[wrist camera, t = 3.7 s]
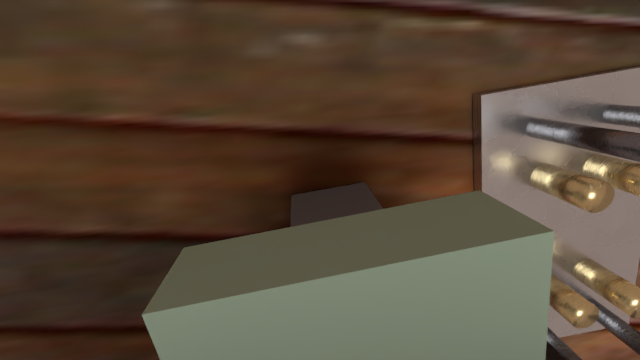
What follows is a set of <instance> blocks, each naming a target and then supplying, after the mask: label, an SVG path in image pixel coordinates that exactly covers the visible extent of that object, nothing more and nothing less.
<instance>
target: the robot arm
mask: <svg viewBox="0 0 640 360" xmlns="http://www.w3.org/2000/svg"><path fill="white" fill-rule="evenodd" d="M545 360H566V359H565V358H564V357H563V356H561V355H560V353H559V352H558V351H557V350H556V349H555V348H554V347H553V346H552V345H551V344H550V343H549V342H548V341H547V344H546V359H545Z"/></svg>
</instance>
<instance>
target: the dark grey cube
mask: <svg viewBox="0 0 640 360" xmlns="http://www.w3.org/2000/svg"><path fill="white" fill-rule="evenodd" d="M381 209H383V207H382V206H381V205H380V203H379V202H378V200H377V199H376V197H375V196H374V195H373V193H372V192H371V190H370V189H369V187H368V186H367V184H366V183H365V182H362V183H357V184H351V185H346V186H340V187H335V188H329V189H323V190H318V191H312V192H307V193H301V194H296V195H291V220H290V227H293V226H299V225H304V224H309V223H314V222H319V221H324V220H329V219H335V218H340V217H345V216H350V215H355V214H360V213H366V212H371V211H376V210H381Z"/></svg>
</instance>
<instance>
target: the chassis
mask: <svg viewBox="0 0 640 360" xmlns="http://www.w3.org/2000/svg"><path fill="white" fill-rule="evenodd" d="M473 160H474V191H479V190H480V191H482V192H484V193H486V194H488V195H489V196H491V197H493V198H495V199H497V200H498V201H500V202H502V203H504V204H506V205H508V206H509V207H511V208H513V209H515V210H517V211H519V212H520V213H522V214H524V215H526V216H528V217H530V218H531V219H533V220H535V221H537V222H539V223H541V224H542V225H544V226H546V227H548V228H550V229H552V230H553V231H554V242H553V257H552V271H551V286H550V301H549V315H548V330H547V341H548V342H549V343H550V344H551V345H552V346H553V347H554V348H555V349H556V350H557V351H558V352H559V353H560V355H561V356H563V357H564V358H565V359H566V360H582V359H581V358H580V357H579V356H578V355H577V354H576V353H575V352H574V351H573V350H572V349H570V348H569V347H568V346H567V345H566V344H565V343H564V342H563V341H562V340H561V339H560V338H559V337H564V336H569V335H574V334H580V333H585V332H590V331H595V330H600V329H605V328H606V329H607V330H608V331H610V332H611V333H612V334H614V335H615V336H616V337H617V338H619V339H620V340H621V341H622V342H624V343H625V344H626V345H627V346H629V347H630V348H631V349H632V350H634V351H635V352H636V353H637V354H639V355H640V332H639V331H638V330H636V329H635V328H633V327H632V326H631V325H629V319H630V317H632V318H640V288H639V287H637V286H636V285H635V283H636V277H637V271H638V265H639V258H640V65H639V66H633V67H628V68H622V69H616V70H611V71H605V72H599V73H593V74H588V75H582V76H576V77H571V78H565V79H559V80H553V81H548V82H542V83H536V84H530V85H525V86H519V87H513V88H508V89H502V90H496V91H490V92H485V93H479V94H473Z"/></svg>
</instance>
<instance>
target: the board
mask: <svg viewBox="0 0 640 360" xmlns="http://www.w3.org/2000/svg"><path fill="white" fill-rule="evenodd" d="M553 242H554V231H553V230H552V229H550V228H548V227H546V226H544V225H542V224H541V223H539V222H537V221H535V220H533V219H531V218H530V217H528V216H526V215H524V214H522V213H520V212H519V211H517V210H515V209H513V208H511V207H509V206H508V205H506V204H504V203H502V202H500V201H498V200H497V199H495V198H493V197H491V196H489V195H488V194H486V193H484V192H482V191H480V190H479V191H474V192H469V193H463V194H458V195H453V196H448V197H443V198H438V199H433V200H427V201H422V202H417V203H412V204H407V205H402V206H396V207H391V208H386V209H381V210H376V211H371V212H366V213H360V214H355V215H350V216H345V217H340V218H335V219H329V220H324V221H319V222H314V223H309V224H304V225H299V226H293V227H288V228H283V229H278V230H273V231H268V232H262V233H257V234H252V235H247V236H242V237H237V238H232V239H226V240H221V241H216V242H211V243H206V244H201V245H195V246H190V247H185V248H183V250H182V251H181V253H180V255H179V256H178V258H177V259H176V261H175V263H174V264H173V266H172V267H171V269H170V271H169V272H168V274H167V275H166V277H165V278H164V280H163V282H162V283H161V285H160V286H159V288H158V290H157V291H156V293H155V294H154V296H153V298H152V299H151V301H150V302H149V304H148V305H147V307H146V309H145V310H144V312H143V313H142V317H143V319H144V322H145V324H146V327H147V329H148V332H149V334H150V336H151V339H152V341H153V344H154V346H155V349H156V351H157V354H158V356H159V358H160V360H545V359H546V344H547V330H548V315H549V301H550V286H551V271H552V257H553Z"/></svg>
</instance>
